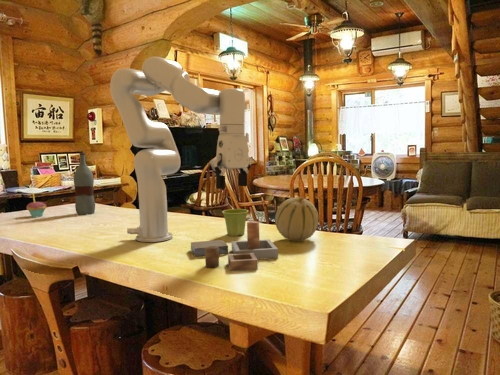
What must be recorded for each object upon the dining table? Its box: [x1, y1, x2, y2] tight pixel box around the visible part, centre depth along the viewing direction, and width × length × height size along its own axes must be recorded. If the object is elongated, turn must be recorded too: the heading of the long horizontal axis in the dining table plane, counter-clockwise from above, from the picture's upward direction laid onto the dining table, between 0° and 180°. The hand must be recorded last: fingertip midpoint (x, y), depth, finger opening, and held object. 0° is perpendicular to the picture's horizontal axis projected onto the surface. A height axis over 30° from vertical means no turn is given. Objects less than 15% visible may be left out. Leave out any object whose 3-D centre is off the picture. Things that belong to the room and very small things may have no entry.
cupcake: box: [26, 193, 47, 218], centre depth 197 cm, size 9×8×12 cm
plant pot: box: [221, 208, 249, 237], centre depth 149 cm, size 9×9×9 cm
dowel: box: [246, 220, 260, 250], centre depth 122 cm, size 4×4×9 cm
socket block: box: [227, 253, 259, 272], centre depth 110 cm, size 7×7×2 cm
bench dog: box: [204, 246, 220, 269], centre depth 111 cm, size 4×4×5 cm
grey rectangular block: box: [190, 239, 229, 258], centre depth 125 cm, size 10×8×3 cm
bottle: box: [73, 152, 96, 216], centre depth 202 cm, size 9×9×30 cm
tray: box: [231, 239, 279, 260], centre depth 122 cm, size 12×12×3 cm
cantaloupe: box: [274, 196, 320, 242], centre depth 138 cm, size 15×15×15 cm
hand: (231, 187), depth 125 cm, fingers open, 9 cm apart
